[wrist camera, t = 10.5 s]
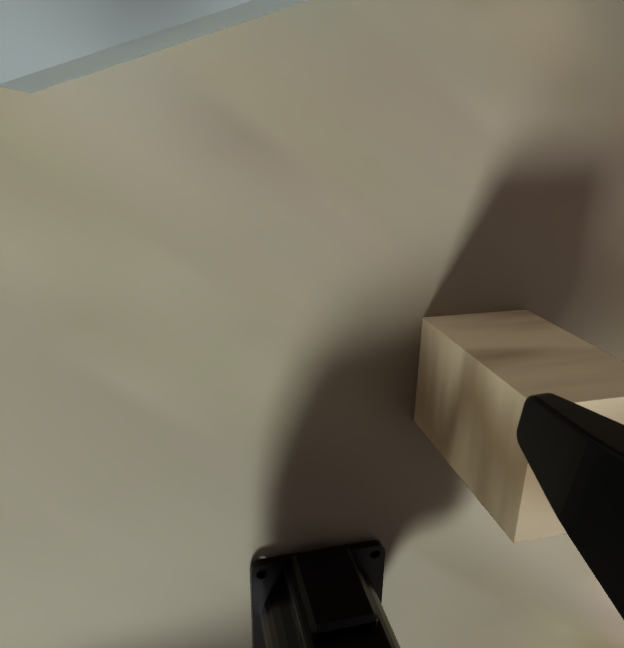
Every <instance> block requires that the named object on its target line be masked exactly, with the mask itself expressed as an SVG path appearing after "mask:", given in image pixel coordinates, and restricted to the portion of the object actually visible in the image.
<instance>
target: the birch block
mask: <svg viewBox="0 0 624 648" xmlns="http://www.w3.org/2000/svg"><path fill="white" fill-rule="evenodd" d="M542 393H553V394H555V395H558V396H560V397H562V398H564V399H567V400H569V401H571V402H573V403H576V404H578V405H580V406H582V407H585V408H587V409H589V410H591V411H594V412H596V413H598V414H601V415H603V416H605V417H607V418H610V419H612V420H614V421H616V422H619V423H621V424H623V425H624V361H622V360H620V359H618V358H616V357H614V356H612V355H611V354H609V353H607V352H605V351H603V350H601V349H599V348H597V347H596V346H594V345H592V344H590V343H588V342H586V341H584V340H583V339H581V338H579V337H577V336H575V335H573V334H571V333H569V332H568V331H566V330H564V329H562V328H560V327H558V326H556V325H554V324H553V323H551V322H549V321H547V320H545V319H543V318H541V317H540V316H538V315H536V314H534V313H532V312H530V311H528V310H515V311H501V312H488V313H475V314H462V315H448V316H435V317H423V321H422V332H421V344H420V355H419V367H418V379H417V390H416V402H415V413H414V421H415V423H416V424H417V425H418V426H419V427H420V429H421V430H422V431H423V432H424V434H425V435H426V436H427V437H428V438H429V440H430V441H431V442H432V443H433V445H434V446H435V447H436V448H437V450H438V451H439V452H440V453H441V454H442V456H443V457H444V458H445V459H446V461H447V462H448V463H449V464H450V466H451V467H452V468H453V469H454V470H455V472H456V473H457V474H458V475H459V477H460V478H461V479H462V480H463V482H464V483H465V484H466V485H467V486H468V488H469V489H470V490H471V491H472V493H473V494H474V495H475V496H476V498H477V499H478V500H479V501H480V502H481V504H482V505H483V506H484V507H485V509H486V510H487V511H488V512H489V514H490V515H491V516H492V517H493V518H494V520H495V521H496V522H497V523H498V525H499V526H500V527H501V528H502V530H503V531H504V532H505V533H506V534H507V536H508V537H509V538H510V539H511V541H512V542H513V543H518V542H524V541H529V540H535V539H540V538H546V537H551V536H557V535H562V534H567V533H566V531H565V529H564V528H563V526H562V525H561V523H560V521H559V520H558V518H557V516H556V514H555V513H554V511H553V509H552V507H551V505H550V503H549V502H548V500H547V498H546V496H545V494H544V492H543V490H542V488H541V486H540V484H539V482H538V481H537V479H536V477H535V475H534V473H533V471H532V469H531V467H530V465H529V463H528V461H527V460H526V458H525V456H524V454H523V452H522V450H521V448H520V446H519V444H518V441H517V436H516V431H517V427H518V423H519V420H520V416H521V412H522V409H523V405H524V402H525V400H526V399H527V398H528V397H529V396H531V395H536V394H542Z"/></svg>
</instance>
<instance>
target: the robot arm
mask: <svg viewBox="0 0 624 648" xmlns="http://www.w3.org/2000/svg"><path fill="white" fill-rule="evenodd" d="M516 436H517V441H518V444H519V446H520V448H521V450H522V452H523V454H524V456H525V458H526V460H527V461H528V463H529V465H530V467H531V469H532V471H533V473H534V475H535V477H536V479H537V481H538V482H539V484H540V486H541V488H542V490H543V492H544V494H545V496H546V498H547V500H548V502H549V503H550V505H551V507H552V509H553V511H554V513H555V514H556V516H557V518H558V520H559V521H560V523H561V525H562V526H563V528H564V529H565V531H566V533H567V534H568V536H569V537H570V539H571V540H572V542H573V543H574V545H575V546H576V548H577V549H578V551H579V552H580V554H581V555H582V557H583V558H584V560H585V562H586V563H587V565H588V566H589V568H590V569H591V571H592V572H593V574H594V575H595V577H596V578H597V580H598V581H599V583H600V584H601V586H602V587H603V589H604V591H605V592H606V594H607V595H608V597H609V598H610V600H611V601H612V603H613V604H614V606H615V607H616V609H617V610H618V612H619V613H620V615H621V616H622V618H623V620H624V425H623V424H621V423H619V422H616V421H614V420H612V419H610V418H607V417H605V416H603V415H601V414H598V413H596V412H594V411H591V410H589V409H587V408H585V407H582V406H580V405H578V404H576V403H573V402H571V401H569V400H567V399H564V398H562V397H560V396H558V395H555V394H553V393H542V394H536V395H531V396H529V397H528V398H527V399H526V400H525V402H524V405H523V409H522V412H521V416H520V420H519V423H518V427H517V431H516ZM374 550H376V551H375V552H372V551H374ZM371 552H372V553H371ZM384 559H385V550H384V548H383V546H382V544H381V543H380V541H377V540H371V541H365V542H359V543H354V544H348V545H342V546H336V547H330V548H324V549H319V550H313V551H307V552H301V553H295V554H290V555H284V556H278V557H272V558H266V559H260V560H257V561H255V562H254V563H253V564H252V565H251V567H250V589H251V616H252V643H253V648H400V646H399V644H398V641H397V639H396V637H395V634H394V632H393V630H392V628H391V625H390V623H389V621H388V618H387V616H386V614H385V612H384V609H383V607H382V605H381V601H382V587H383V573H384ZM261 570H264V571H263V572H259V571H261Z"/></svg>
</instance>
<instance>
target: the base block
mask: <svg viewBox="0 0 624 648" xmlns="http://www.w3.org/2000/svg"><path fill="white" fill-rule="evenodd" d="M305 1H308V0H0V87H3V88H8V89H13V90H18V91H23V92H28V93H33V92H36V91H39V90H42V89H45V88H48V87H51V86H54V85H57V84H60V83H63V82H66V81H69V80H72V79H75V78H78V77H81V76H84V75H87V74H90V73H93V72H96V71H99V70H102V69H105V68H108V67H111V66H114V65H117V64H120V63H123V62H126V61H129V60H132V59H135V58H138V57H141V56H144V55H147V54H150V53H153V52H156V51H159V50H162V49H165V48H168V47H171V46H174V45H177V44H180V43H183V42H186V41H189V40H192V39H194V38H197V37H200V36H203V35H206V34H209V33H212V32H215V31H218V30H221V29H224V28H227V27H230V26H233V25H236V24H239V23H242V22H245V21H248V20H251V19H254V18H257V17H260V16H263V15H266V14H269V13H272V12H275V11H278V10H281V9H284V8H287V7H290V6H293V5H296V4H299V3H302V2H305Z"/></svg>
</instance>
